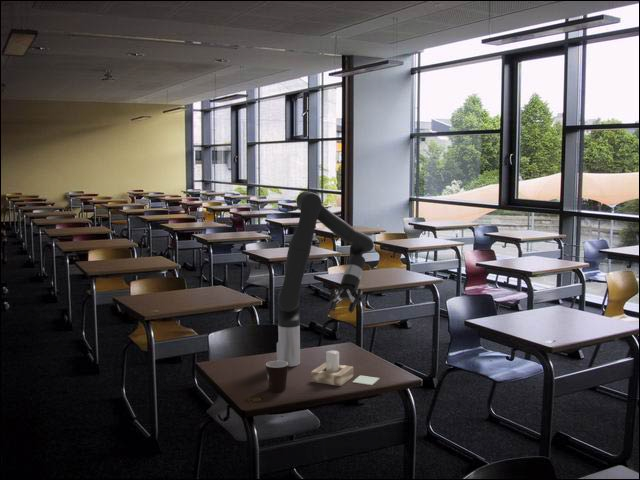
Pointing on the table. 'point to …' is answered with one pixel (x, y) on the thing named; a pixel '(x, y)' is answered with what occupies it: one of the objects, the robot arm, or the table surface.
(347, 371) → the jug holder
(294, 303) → the robot arm
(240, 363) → the table surface
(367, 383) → the mat
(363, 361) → the table surface
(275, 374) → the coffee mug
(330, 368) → the white upright block
